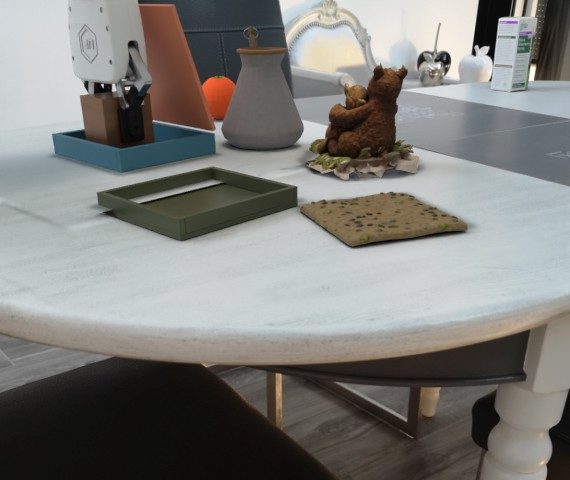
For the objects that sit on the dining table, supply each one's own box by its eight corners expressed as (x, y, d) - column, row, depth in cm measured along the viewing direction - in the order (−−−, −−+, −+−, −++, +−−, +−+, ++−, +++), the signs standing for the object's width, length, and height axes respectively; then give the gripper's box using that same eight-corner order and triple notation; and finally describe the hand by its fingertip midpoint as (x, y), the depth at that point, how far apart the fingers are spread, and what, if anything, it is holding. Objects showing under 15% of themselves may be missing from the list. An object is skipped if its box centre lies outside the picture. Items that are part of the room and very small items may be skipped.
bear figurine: (385, 150, 92) (392, 54, 86) (434, 175, 79) (445, 64, 73) (290, 156, 89) (290, 57, 83) (325, 183, 76) (328, 68, 70)
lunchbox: (122, 179, 79) (119, 150, 77) (55, 159, 88) (51, 133, 86) (216, 159, 88) (214, 133, 86) (146, 143, 97) (144, 119, 96)
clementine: (204, 114, 120) (202, 72, 116) (243, 114, 119) (241, 72, 116) (197, 122, 113) (194, 77, 109) (238, 122, 112) (236, 77, 109)
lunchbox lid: (170, 6, 76) (174, 3, 76) (95, 5, 85) (99, 3, 85) (213, 131, 86) (216, 129, 86) (142, 118, 95) (145, 116, 96)
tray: (181, 241, 59) (179, 219, 58) (99, 211, 67) (96, 192, 66) (297, 205, 68) (297, 186, 67) (213, 183, 76) (212, 166, 75)
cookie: (297, 210, 66) (297, 200, 66) (403, 197, 70) (404, 188, 70) (349, 247, 57) (350, 236, 56) (470, 230, 60) (471, 220, 60)
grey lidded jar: (310, 156, 89) (311, 32, 82) (224, 159, 88) (217, 33, 80) (288, 128, 107) (288, 24, 100) (217, 130, 106) (212, 25, 99)
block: (110, 162, 83) (101, 99, 79) (88, 157, 86) (79, 95, 82) (155, 154, 87) (150, 93, 83) (133, 148, 90) (127, 89, 86)
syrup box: (510, 92, 144) (521, 17, 137) (489, 89, 148) (498, 16, 141) (527, 90, 146) (539, 16, 140) (506, 87, 151) (516, 16, 144)
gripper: (34, -23, 79) (60, 134, 88) (114, -27, 69) (134, 152, 78) (89, -23, 84) (108, 126, 93) (172, -26, 74) (185, 143, 82)
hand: (120, 137), depth 85 cm, fingers closed on block, 5 cm apart
